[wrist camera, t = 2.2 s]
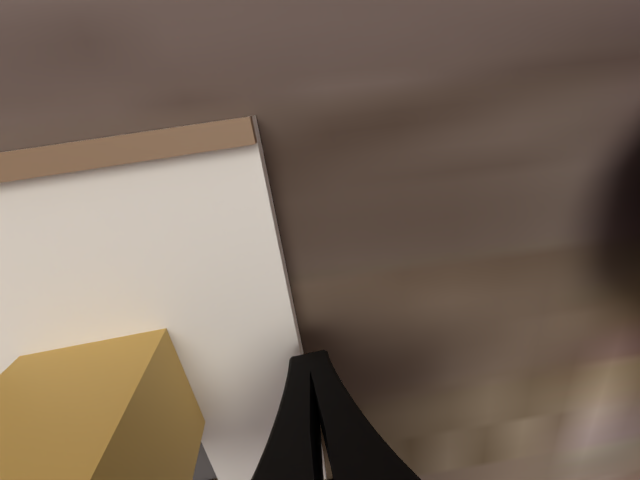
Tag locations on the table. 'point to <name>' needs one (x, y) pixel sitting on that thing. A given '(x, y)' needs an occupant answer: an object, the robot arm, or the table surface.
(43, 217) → the trap tray
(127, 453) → the block
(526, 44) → the table surface
